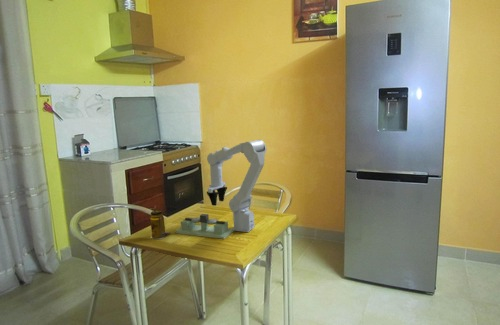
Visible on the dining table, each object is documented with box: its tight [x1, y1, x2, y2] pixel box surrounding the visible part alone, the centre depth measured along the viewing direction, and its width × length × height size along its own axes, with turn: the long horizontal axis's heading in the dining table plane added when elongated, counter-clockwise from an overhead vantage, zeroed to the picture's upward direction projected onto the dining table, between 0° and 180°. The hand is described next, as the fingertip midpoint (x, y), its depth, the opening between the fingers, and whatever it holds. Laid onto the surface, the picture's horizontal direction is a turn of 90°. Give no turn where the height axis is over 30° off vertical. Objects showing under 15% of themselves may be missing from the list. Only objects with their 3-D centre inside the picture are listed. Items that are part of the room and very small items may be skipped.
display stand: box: [174, 219, 235, 240], centre depth 156 cm, size 26×10×5 cm, turn 67°
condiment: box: [149, 209, 172, 240], centre depth 154 cm, size 7×8×12 cm
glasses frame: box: [184, 213, 226, 226], centre depth 155 cm, size 21×5×3 cm, turn 67°
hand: (217, 203), depth 166 cm, fingers open, 7 cm apart
